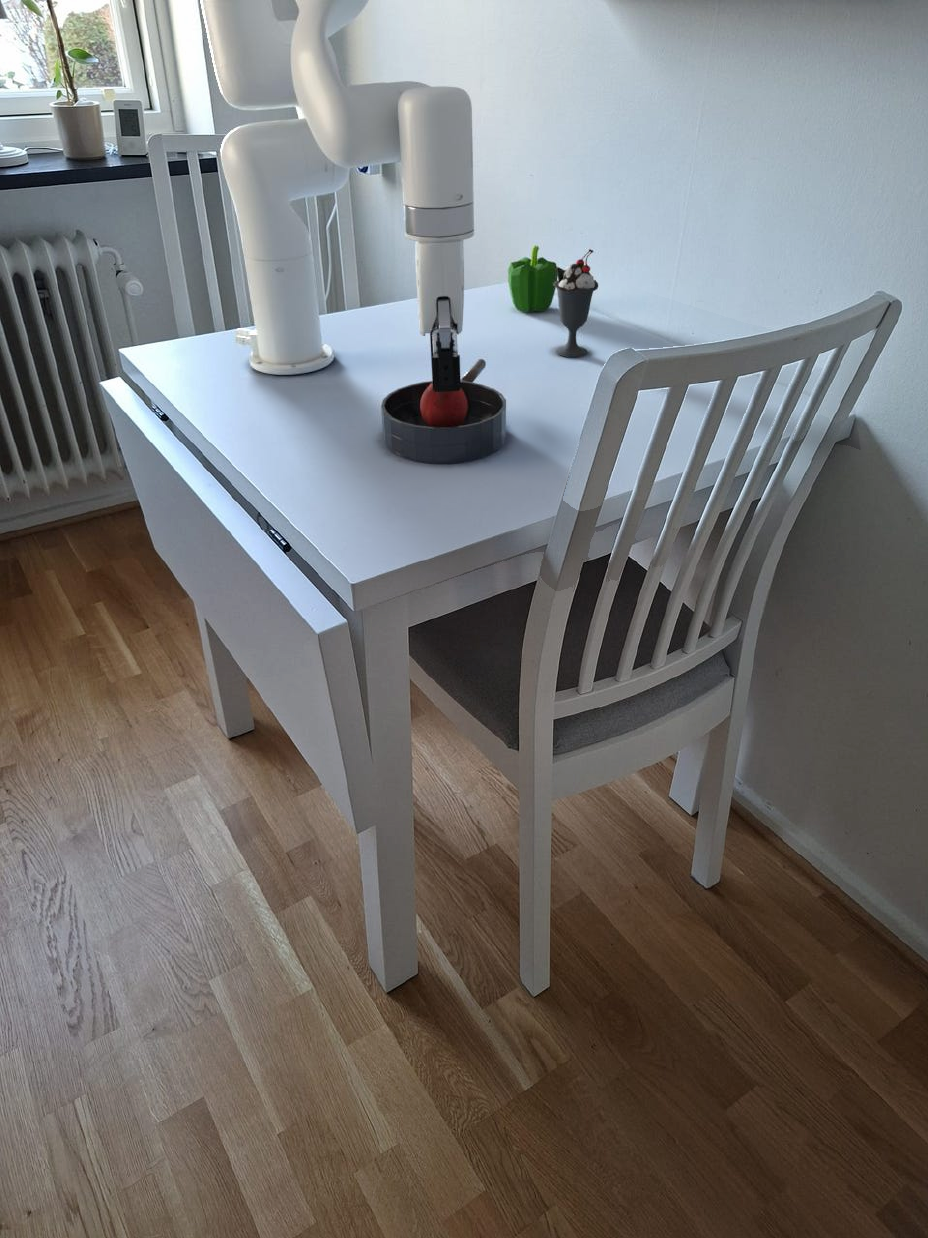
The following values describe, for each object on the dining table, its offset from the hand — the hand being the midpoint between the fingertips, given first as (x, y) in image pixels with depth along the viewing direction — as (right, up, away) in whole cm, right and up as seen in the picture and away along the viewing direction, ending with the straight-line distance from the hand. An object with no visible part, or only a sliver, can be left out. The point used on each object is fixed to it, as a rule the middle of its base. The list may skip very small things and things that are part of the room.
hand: (445, 375), depth 103 cm
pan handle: (+3, +3, +12) cm, 13 cm away
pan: (0, -6, +5) cm, 8 cm away
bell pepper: (+14, +25, +48) cm, 56 cm away
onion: (0, -6, +5) cm, 8 cm away
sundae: (+19, +12, +30) cm, 37 cm away
